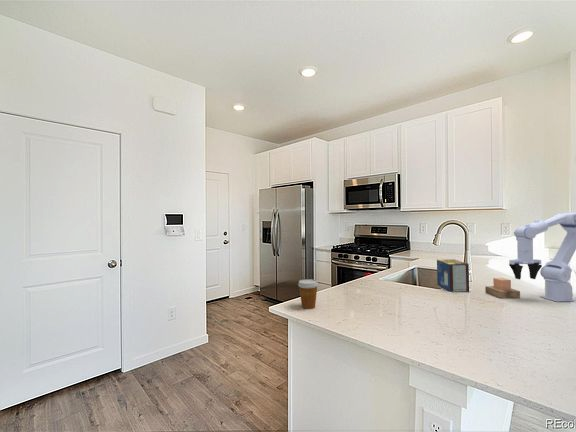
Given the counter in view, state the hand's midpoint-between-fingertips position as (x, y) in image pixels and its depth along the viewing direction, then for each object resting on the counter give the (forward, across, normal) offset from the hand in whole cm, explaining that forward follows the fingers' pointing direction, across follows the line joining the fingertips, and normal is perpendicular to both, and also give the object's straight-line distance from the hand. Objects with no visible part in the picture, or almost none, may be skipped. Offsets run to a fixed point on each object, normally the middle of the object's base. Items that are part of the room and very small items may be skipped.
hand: (525, 278), depth 132 cm
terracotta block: (+7, -5, +8) cm, 12 cm away
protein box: (+11, -21, +24) cm, 34 cm away
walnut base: (+11, -5, +8) cm, 14 cm away
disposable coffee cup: (+12, -107, 0) cm, 107 cm away
